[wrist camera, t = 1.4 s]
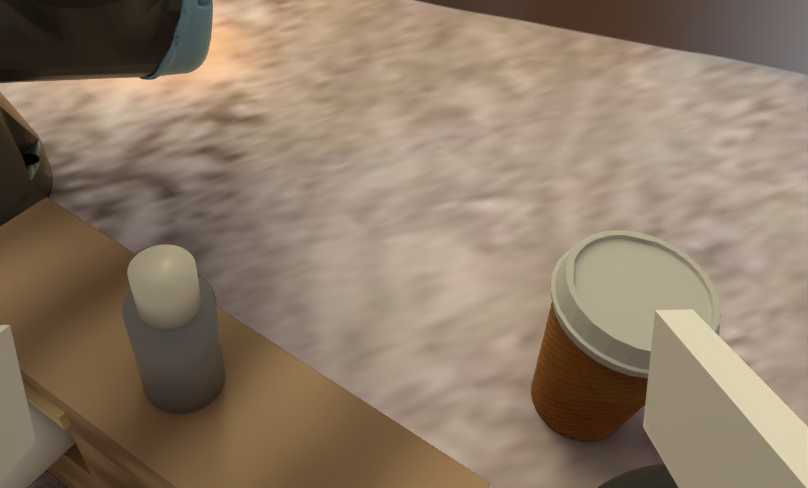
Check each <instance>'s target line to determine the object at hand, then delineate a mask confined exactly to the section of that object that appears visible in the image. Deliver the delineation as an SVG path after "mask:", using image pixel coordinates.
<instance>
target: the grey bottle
mask: <svg viewBox="0 0 808 488" xmlns="http://www.w3.org/2000/svg"><path fill="white" fill-rule="evenodd" d="M127 275H128V279H129V283H130V287H131V290H130V291H129V292H128V294H127V295H126V297H125V299H124V302H123V306H122V316H123V320H124V323H125V327H126V330H127V334H128V337H129V340H130V344H131V347H132V350H133V354H134V357H135V361H136V364H137V367H138V371H139V374H140V377H141V381H142V384H143V388H144V391H145V394H146V396H147V398H148V400H149V401H150V402H151V403H152V404H153V405H154V406H155V407H156V408H158V409H160V410H162V411H164V412H168V413H172V414H186V413H191V412H195V411H198V410H200V409H202V408H204V407H206V406H207V405H209V404H210V403H211V402H212V401H213V400H215V398H216V397H217V396H218V395H219V393H220V392H221V390H222V388H223V385H224V382H225V369H224V361H223V353H222V345H221V338H220V330H219V322H218V314H217V306H216V299H215V294H214V291H213V289H212V287H211V286H210V285H209V284H208V283H207V282H206V281H205V280H204V279H203V278H201V277H199V276H198V275H197V269H196V262H195V259H194V257H193V256H192V255H191V254H190V253H189V252H188V251H187V250H185V249H184V248H181V247H179V246H175V245H157V246H152V247H149V248H147V249H145V250H143V251H141V252H140V253H138V254H137V255H136V256H135V257H134V258H133V259H132V261H131V262H130V264H129V266H128V271H127Z"/></svg>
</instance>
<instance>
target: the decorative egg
mask: <svg viewBox="0 0 808 488" xmlns="http://www.w3.org/2000/svg"><path fill="white" fill-rule="evenodd" d="M598 488H678V486H677V484H676V482H675V481H674V479H673V477H672V476H671V474H670V472H669V471H668V469H667V467H666V465H665V464H661V465H654V466H648V467H643V468H639V469H636V470H633V471H630V472H627V473H624V474H622V475H619V476H617V477H615V478H613V479H611V480H609V481H607V482H606V483H604V484H602V485H601V486H599V487H598Z"/></svg>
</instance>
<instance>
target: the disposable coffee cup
mask: <svg viewBox="0 0 808 488" xmlns="http://www.w3.org/2000/svg"><path fill="white" fill-rule="evenodd" d="M550 289H551V299H552V303H551V308H550V312H549V316H548V321H547V324H546V329H545V333H544V337H543V341H542V345H541V349H540V353H539V358H538V362H537V366H536V370H535V374H534V378H533V381H532V385H531V394H532V399H533V403H534V405H535V408H536V410H537V411H538V413H539V414H540V416H541V417H542V419H543V420H544V421H545V422H546V423H547V424H548V425H549V426H550V427H551V428H553V429H554V430H555V431H557V432H559V433H560V434H562V435H564V436H566V437H568V438H571V439H575V440H580V441H596V440H601V439H603V438H606V437H608V436H610V435H611V434H612V433H614V432H615V431H616V430H617V429H618V428H619V427H620V426H621V425H622V424H623V423H625V422H626V421H627V420H628V419H629V418H630V417H631V416H633V415H634V414H635V413H636V412H637V411H638V410H639V409H640V408H642V407H643V406H644V405H645V403H646V393H647V383H648V374H649V364H650V355H651V345H652V335H653V326H654V316H655V310H688V309H693V310H694V311H695V312H696V313H697V314H698V315H699V316H700V317H701V318H702V319H703V320H704V322H705V323H706V324H707V325H708V326H709V327H710V328H711V329H712V330H713V331H714V332H715V333H716V334H717V335H718V336H719V324H720V323H719V322H720V317H721V310H720V301H719V298H718V295H717V292H716V289H715V287H714V285H713V284H712V282H711V280H710V279H709V277H708V275H707V274H706V273H705V272H704V271H703V270H702V269H701V267H700V266H699V265H698V264H697V263H696V262H695V261H693V260H692V259H691V258H690V257H689V256H688V255H687V254H685V253H684V252H682V251H681V250H679V249H678V248H676V247H674V246H672V245H671V244H669V243H667V242H665V241H663V240H660V239H658V238H655V237H653V236H650V235H646V234H643V233H638V232H633V231H623V230H615V231H605V232H601V233H598V234H594V235H592V236H589V237H587V238H585V239H584V240H582V241H581V242H579V243H578V244H577V245H576V246H575V247H573V248H571V249H570V250H568V251H567V252H566V253H565V254H564V255H563V256H562V257H561V258H560V259H559V261H558V263H557V264H556V266H555V267H554V270H553V274H552V278H551V284H550Z"/></svg>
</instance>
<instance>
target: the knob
mask: <svg viewBox="0 0 808 488" xmlns="http://www.w3.org/2000/svg"><path fill="white" fill-rule="evenodd" d="M27 404H28V408H29V413H30V417H31V422H32V426H33V431H34V435H35V440H36V441H35V442H34V444H33V445H32V446H31V447H30V448H29V450H28V451H27V452H26V453H25V454H24V456H23V457H22V458H21V459H20V460H19V462H18V463H17V464H16V465H15V466H14V468H13V469H12V470H11V471H10V472H9V474H8V475H7V476H6V477H5V478H4V480H3V481H2V482H1V483H0V488H27V487H28V486H29V485H30V484H31V483H32V482H34V481H35V480H36V479H37V478H38V477H39V476H40V475H41V474H42V473H43V472H44V471H46V470H47V469H48V468H49V467H50V466H51V465H52V464H53V463H54V462H55V461H56V460H58V459H59V458H60V457H61V456H62V455H63V454H64V453H65V452H66V451H67V450H68V449H70V448H71V447H72V446H73V445H74V444H75V443H76V442H75V440H74V438H73V436H72V434H71V432H70V430H69V429H68V428H66V429H63V428H62V427H61V426H59V425H58V424H57V423H56V422H54V421H53V420H52V419H50V418H49V417H48V416H47V415H45V414H44V413H43V412H41V411H40V410H39V409H38V408H36V407H35V406H34V405H32V404H31V403H30V402H28V401H27Z"/></svg>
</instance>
